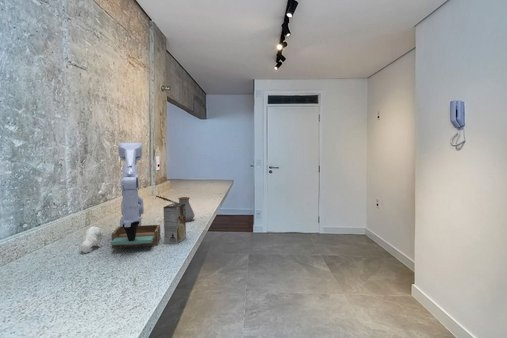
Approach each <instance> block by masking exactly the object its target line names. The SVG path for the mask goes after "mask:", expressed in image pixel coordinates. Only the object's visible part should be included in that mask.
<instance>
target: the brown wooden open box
mask: <svg viewBox="0 0 507 338" xmlns="http://www.w3.org/2000/svg"><path fill="white" fill-rule="evenodd" d="M144 236H154V239H153V241H152V243H140V245H124V244H121V245H111V249H118V248H121V249H122V248H138V247H156V246H158V245H159V242H160V240H161V224H149V225H148V224H147V225H141V226H138V227H137V231H136V237H144ZM125 237H127V234H126V231H125V229H124V228H123V226H121V227H120V226H117V228H115V230H113V232H112V233H111V241H112V240H114V239H115V238H125Z"/></svg>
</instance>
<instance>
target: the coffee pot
mask: <svg viewBox="0 0 507 338" xmlns="http://www.w3.org/2000/svg"><path fill="white" fill-rule="evenodd" d="M156 198H159V199H161V200H162V201H166V202H170V203H180V204H185V216H186V223H187V221H188V222H191V221H192V220H193V219H194V218H195V213H194V211H193V208H192V206H191V204H190V202H189V200H190V199H191V197H188V196H181V197H178V198H177V200H178V201H173V200H171V199H169V198H166V197H164V196H163V197H162V196H159V195H155V198H154V200H156Z"/></svg>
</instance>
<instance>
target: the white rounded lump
mask: <svg viewBox="0 0 507 338" xmlns="http://www.w3.org/2000/svg"><path fill="white" fill-rule="evenodd" d="M103 233H104V232H103V231H102V229H101V228H100V227H97V226H95V225H93V226H90V227H88V228H87V229H86V231H85V233H84V237H83V238H82V243H81V244H80V248H79V249H80V250H81V251H82V252H83V253H84V254H87V253H88V252H91V251H92V250H93V247H94V246H97V247H98V248H101V247H102V239H103Z"/></svg>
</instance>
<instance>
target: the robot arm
mask: <svg viewBox="0 0 507 338" xmlns="http://www.w3.org/2000/svg"><path fill="white" fill-rule="evenodd" d="M118 155H119V158H120V161H123V162H125V164H124V165H123V166H122V178H120V190H121V196H122V199H121V205H120V208H121V211H120V212H121V215H122V216H121V217H120V219H119V227H121V226H123V228H124V229H125V231H126V234H127V238H128V241H134V240H135V237H136V231H137V227H138V226H142V219H143V217H142V215H144V212H145V211H144V208H145V207H144V199H143V197H141V195H139V190H140V179H139V178H140V177H139V175H138V168H139V167H138V166H137V164H138V163H137V162H138V161H140V160H142V158H143V143H142V142H140V141H139V142H119V143H118Z"/></svg>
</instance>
